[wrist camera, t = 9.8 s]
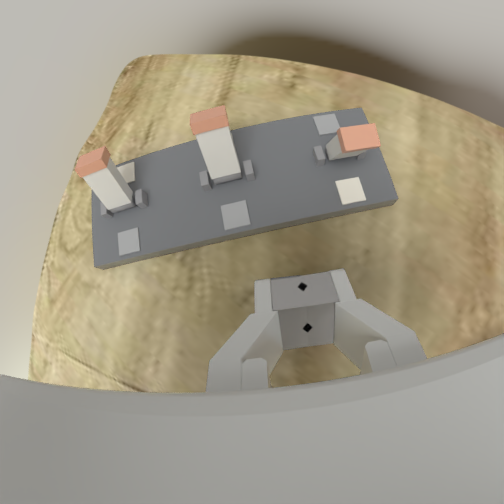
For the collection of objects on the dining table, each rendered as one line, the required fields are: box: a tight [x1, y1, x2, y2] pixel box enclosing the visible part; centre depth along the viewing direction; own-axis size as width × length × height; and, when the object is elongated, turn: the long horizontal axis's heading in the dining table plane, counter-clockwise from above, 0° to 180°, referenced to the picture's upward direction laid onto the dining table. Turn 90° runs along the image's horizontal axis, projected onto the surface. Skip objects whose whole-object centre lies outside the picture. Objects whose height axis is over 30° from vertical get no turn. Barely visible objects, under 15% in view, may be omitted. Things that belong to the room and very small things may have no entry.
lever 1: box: [75, 146, 136, 213], centre depth 29 cm, size 2×3×8 cm, turn 102°
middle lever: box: [190, 105, 242, 184], centre depth 28 cm, size 2×3×8 cm, turn 101°
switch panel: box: [92, 108, 398, 270], centre depth 32 cm, size 12×34×4 cm, turn 101°
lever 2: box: [325, 123, 381, 160], centre depth 27 cm, size 2×3×8 cm, turn 101°
